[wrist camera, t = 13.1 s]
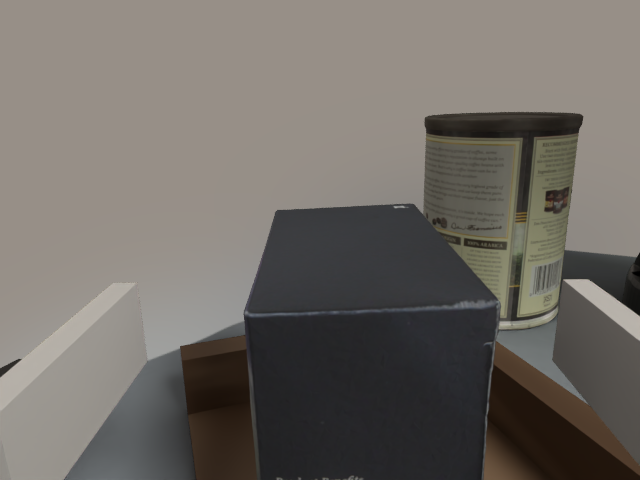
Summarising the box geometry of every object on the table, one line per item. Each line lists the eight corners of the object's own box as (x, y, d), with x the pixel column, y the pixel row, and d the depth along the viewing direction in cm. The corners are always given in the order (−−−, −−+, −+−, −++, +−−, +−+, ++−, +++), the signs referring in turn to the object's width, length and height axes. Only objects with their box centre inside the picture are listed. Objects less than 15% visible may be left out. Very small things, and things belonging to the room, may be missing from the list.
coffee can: (440, 270, 45) (449, 112, 41) (565, 290, 40) (588, 111, 36) (397, 312, 36) (403, 117, 32) (548, 345, 31) (577, 118, 27)
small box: (280, 411, 24) (269, 204, 21) (411, 408, 24) (419, 200, 21) (256, 641, 14) (229, 303, 11) (483, 634, 14) (517, 296, 11)
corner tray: (437, 355, 30) (439, 302, 29) (707, 595, 16) (732, 504, 15) (187, 407, 26) (180, 346, 25) (238, 815, 11) (227, 705, 10)
